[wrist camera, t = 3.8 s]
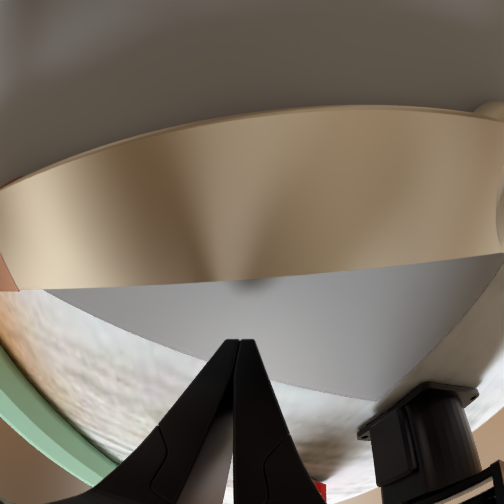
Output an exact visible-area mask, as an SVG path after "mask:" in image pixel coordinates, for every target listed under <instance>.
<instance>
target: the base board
mask: <svg viewBox="0 0 504 504" xmlns="http://www.w3.org/2000/svg"><path fill="white" fill-rule="evenodd" d="M491 101H504V0H0V186H1V185H3V184H5V183H7V182H9V181H11V180H13V179H15V178H17V177H19V176H22V177H23V176H25V175H27V174H30V173H32V172H34V171H36V170H39V169H41V168H44V167H46V166H48V165H51V164H53V163H56V162H58V161H61V160H64V159H66V158H69V157H72V156H74V155H77V154H80V153H83V152H86V151H89V150H92V149H94V148H98V147H101V146H104V145H107V144H110V143H113V142H117V141H120V140H123V139H127V138H130V137H134V136H137V135H141V134H145V133H149V132H153V131H157V130H161V129H165V128H169V127H173V126H178V125H182V124H187V123H192V122H197V121H202V120H207V119H213V118H218V117H224V116H230V115H237V114H244V113H251V112H259V111H267V110H276V109H286V108H297V107H311V106H330V105H398V106H416V107H429V108H440V109H449V110H457V111H465V112H472V113H473V112H474V111H475V110H476V109H477V108H478V107H480V106H481V105H483V104H485V103H487V102H491ZM503 263H504V253H503V252H502V253H495V254H488V255H481V256H473V257H466V258H458V259H450V260H442V261H434V262H425V263H417V264H408V265H399V266H390V267H380V268H371V269H361V270H351V271H340V272H330V273H319V274H308V275H296V276H284V277H272V278H259V279H245V280H231V281H217V282H201V283H185V284H167V285H148V286H127V287H103V288H74V289H43V290H44V291H46V292H48V293H50V294H52V295H53V296H55V297H57V298H59V299H61V300H63V301H65V302H67V303H69V304H71V305H73V306H75V307H77V308H79V309H81V310H83V311H85V312H87V313H89V314H91V315H93V316H95V317H97V318H99V319H101V320H104V321H106V322H108V323H110V324H112V325H115V326H117V327H119V328H121V329H124V330H126V331H128V332H131V333H133V334H135V335H138V336H140V337H143V338H145V339H148V340H150V341H153V342H155V343H158V344H160V345H163V346H166V347H168V348H171V349H173V350H176V351H179V352H182V353H184V354H187V355H190V356H193V357H196V358H199V359H202V360H205V361H209V360H210V358H211V357H212V356H213V355H214V353H215V352H216V351H217V349H218V348H219V347H220V346H221V344H222V343H223V342H224V340H226V339H239V340H241V339H254V340H255V341H256V344H257V347H258V350H259V352H260V355H261V358H262V361H263V363H264V366H265V369H266V372H267V374H268V377H269V380H272V381H276V382H280V383H284V384H288V385H292V386H297V387H301V388H305V389H310V390H315V391H319V392H324V393H329V394H335V395H340V396H345V397H351V398H357V399H363V400H370V401H377V400H378V399H379V398H380V397H382V396H383V395H384V394H385V393H386V392H388V391H389V390H390V389H391V388H392V387H393V386H395V385H396V384H397V383H398V382H399V381H400V380H401V379H403V378H404V377H405V376H406V375H407V374H408V373H409V372H410V371H411V370H412V369H414V368H415V367H416V366H417V365H418V364H419V363H420V362H421V361H422V360H423V359H424V358H425V357H426V356H427V355H428V354H429V353H430V352H431V351H432V350H433V349H434V348H435V347H436V346H437V345H438V344H439V343H440V342H441V341H442V340H443V338H444V337H445V336H446V335H447V334H448V333H449V332H450V331H451V330H452V329H453V327H454V326H455V325H456V324H457V323H458V322H459V321H460V319H461V318H462V317H463V316H464V315H465V314H466V312H467V311H468V310H469V309H470V308H471V306H472V305H473V304H474V303H475V301H476V300H477V299H478V298H479V296H480V295H481V294H482V292H483V291H484V290H485V288H486V287H487V286H488V284H489V283H490V282H491V280H492V279H493V277H494V276H495V275H496V273H497V272H498V270H499V269H500V267H501V266H502V264H503Z"/></svg>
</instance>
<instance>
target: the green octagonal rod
mask: <svg viewBox="0 0 504 504" xmlns="http://www.w3.org/2000/svg"><path fill="white" fill-rule="evenodd" d="M0 417H1V418H2V419H3V420H4V421H5V422H6V423H8V424H9V425H10V426H11V427H12V428H13V429H14V430H15V431H16V432H17V433H18V434H20V435H21V436H22V437H23V438H24V439H25V440H27V441H28V442H29V443H30V444H31V445H33V446H34V447H35V448H36V449H38V450H39V451H40V452H41V453H43V454H44V455H45V456H47V457H48V458H49V459H51V460H52V461H53V462H55V463H56V464H58V465H59V466H61V467H62V468H63V469H65V470H66V471H68V472H69V473H71V474H72V475H74V476H76V477H77V478H78V479H80V480H82V481H83V482H85V483H87V484H88V485H90V487H91V488H93V487H94V486H95V485H97V484H98V483H99V482H100V481H101V480H103V479H104V478H105V477H106V476H107V475H108V474H109V473H111V472H112V471H113V470H114V469H115V468H116V467H117V466H118V465H120V464H118V463H115V462H112V461H111V460H110V459H109V458H107V457H106V456H105V455H104V454H102V453H101V452H100V451H99V450H97V449H96V448H95V447H94V446H93V445H92V444H90V443H89V442H88V441H87V440H86V439H85V438H84V437H83V436H81V435H80V434H79V433H78V432H77V431H76V430H75V429H74V428H73V427H72V426H71V425H70V424H69V423H67V422H66V421H65V420H64V419H63V418H62V417H61V416H60V415H59V414H58V413H57V412H56V411H55V410H54V409H53V408H52V407H51V406H50V405H49V403H48V402H47V401H46V400H45V399H44V398H43V397H42V396H41V395H40V394H39V393H38V392H37V390H36V389H35V388H34V387H33V386H32V385H31V384H30V382H29V381H28V380H27V379H26V378H25V376H24V375H23V374H22V373H21V371H20V370H19V369H18V368H17V366H16V365H15V364H14V363H13V361H12V360H11V359H10V357H9V356H8V355H7V353H6V352H5V351H4V349H3V348H2V346H1V345H0Z"/></svg>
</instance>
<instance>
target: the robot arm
mask: <svg viewBox="0 0 504 504" xmlns="http://www.w3.org/2000/svg"><path fill="white" fill-rule="evenodd" d="M478 396H479V392H478V389H473V388H465V387H458V386H451V385H445V384H438V383H432V382H426V383H423V384H421V385H419V386H418V387H417V388H416V389H415V390H413V391H412V392H411V393H410V394H409V395H407V396H406V397H405V398H404V399H402V400H401V401H400V402H399V403H397V404H396V405H395V406H393V407H392V408H391V409H390V410H388V411H387V412H386V413H384V414H383V415H381V416H380V417H379V418H377V419H376V420H375V421H373V422H372V423H370V424H369V425H367V426H366V427H364V428H363V429H362V430H360V431H359V432H357V439H358V440H365V441H371V445H372V452H373V460H374V467H375V476H376V484H377V486H378V487H381V494H382V504H444V503H446V502H448V501H451V500H453V499H455V498H458V497H460V496H462V495H464V494H466V493H468V492H470V491H473V490H475V489H476V488H478V487H480V486H482V485H484V484H486V483H488V482H490V481H492V480H493V484H494V486H493V487H492V488H490V489H488V490H486V491H484V492H482V493H480V494H478V495H476V496H474V497H472V498H470V499H468V500H465V501H463V502H461V503H459V504H504V462H503V461H501V460H497V461H496V462H494V463H492V464H491V465H490V467H488V468H486V469H485V470H483V471H482V468H481V464H480V460H479V456H478V452H477V449H476V446H475V442H474V439H473V435H472V432H471V429H470V426H469V423H468V420H467V417H466V414H465V411H464V408H465V407H466V406H468V405H469V404H470V403H471V402H473V401H474V400H475V399H476V398H477V397H478ZM158 425H159V426H156V427H155V428H154V429H153V430H152V432H151V433H150V434H149V435H148V436H147V438H146V439H145V440H144V441H143V442H142V443H141V444H140V445H139V446H138V448H137V449H136V450H134V451H133V452H132V453H131V454H130V455H129V456H128V457H127V458H126V459H125V460H124V461H123V462H122V463H121V464H120V465H118V466H117V467H116V468H115V469H114V470H113V471H112V472H111V473H109V474H108V475H107V476H106V477H105V478H104V479H103V480H101V481H100V482H99V483H98V484H97V485H95V486H94V487H93V488H91V489H90V490H88V491H86V492H84V493H82V494H79V495H76V496H73V497H69V498H66V499H62V500H58V501H54V502H50V503H45V504H222V503H223V498H224V493H225V489H226V484H227V479H228V474H229V469H230V464H231V459H232V454H233V496H234V504H327V503H326V501H325V500H324V498H323V497H322V495H321V494H320V492H319V490H318V489H317V487H316V486H315V484H314V482H313V481H312V479H311V477H310V476H309V474H308V472H307V470H306V468H305V467H304V465H303V463H302V461H301V459H300V456H299V454H298V452H297V450H296V447H295V445H294V442H293V440H292V437H291V435H290V432H289V430H288V427H287V425H286V422H285V419H284V417H283V414H282V412H281V409H280V406H279V404H278V401H277V398H276V396H275V393H274V390H273V388H272V385H271V382H270V380H269V377H268V374H267V372H266V369H265V366H264V363H263V361H262V358H261V355H260V352H259V350H258V347H257V344H256V341H255V340H254V339H241V340H239V339H226V340H224V342H223V343H222V344H221V346H220V347H219V348H218V349H217V351H216V352H215V353H214V355H213V356H212V357H211V358H210V360H209V361H208V362H207V364H206V365H205V366H204V367H203V369H202V370H201V371H200V372H199V374H198V375H197V376H196V378H195V379H194V380H193V381H192V383H191V384H190V385H189V386H188V388H187V389H186V390H185V391H184V393H183V394H182V395H181V396H180V398H179V399H178V400H177V401H176V403H175V404H174V405H173V406H172V407H171V409H170V410H169V411H168V412H167V414H166V415H165V416H164V417H163V419H162V420H161V421H160V422H159V423H158ZM0 504H15V503H13V502H12V501H9V500H7V499H6V498H4V497H2V496H1V495H0Z"/></svg>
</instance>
